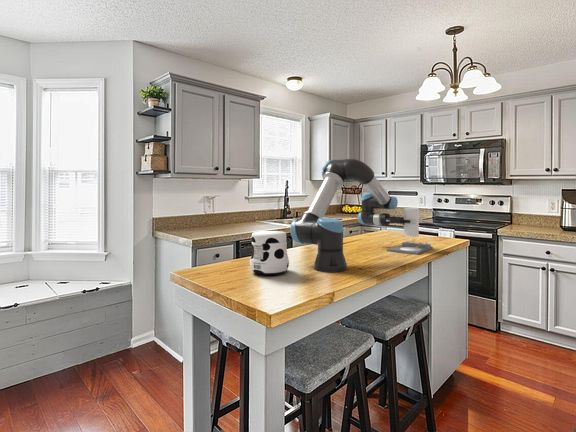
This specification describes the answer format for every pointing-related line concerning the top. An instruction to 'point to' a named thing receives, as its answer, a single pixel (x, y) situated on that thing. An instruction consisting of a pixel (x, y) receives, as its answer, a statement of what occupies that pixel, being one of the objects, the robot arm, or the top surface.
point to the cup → (411, 228)
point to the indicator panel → (411, 248)
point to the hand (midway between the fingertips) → (419, 221)
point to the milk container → (269, 252)
